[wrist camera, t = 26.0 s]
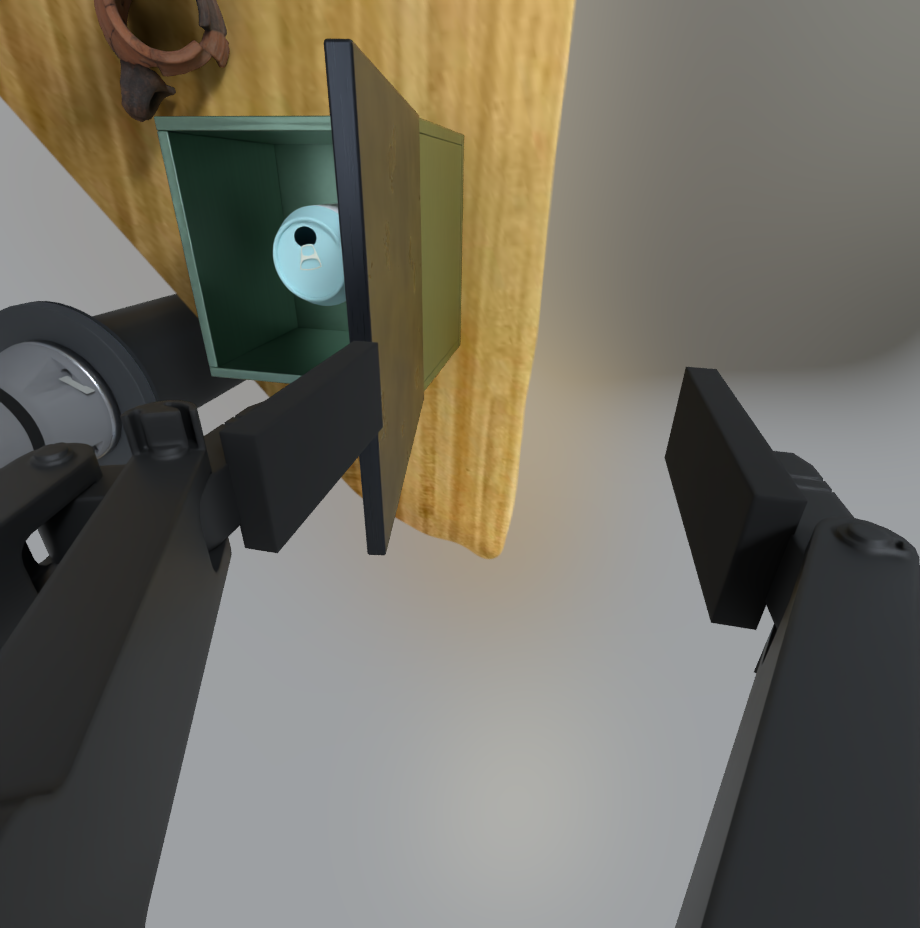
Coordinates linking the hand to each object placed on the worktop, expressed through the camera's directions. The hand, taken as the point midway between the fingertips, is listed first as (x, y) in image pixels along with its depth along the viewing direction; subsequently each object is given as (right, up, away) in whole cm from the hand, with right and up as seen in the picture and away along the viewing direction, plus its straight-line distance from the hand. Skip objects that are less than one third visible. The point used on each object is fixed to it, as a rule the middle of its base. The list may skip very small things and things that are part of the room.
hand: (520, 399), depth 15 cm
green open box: (-10, +19, +34) cm, 40 cm away
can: (-10, +18, +33) cm, 39 cm away
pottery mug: (-26, +34, +29) cm, 52 cm away
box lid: (-5, +6, +11) cm, 14 cm away
